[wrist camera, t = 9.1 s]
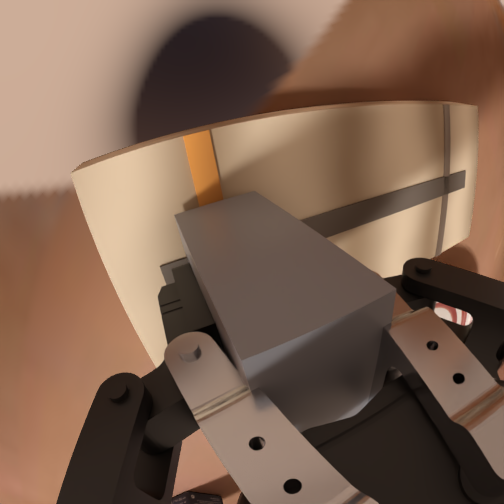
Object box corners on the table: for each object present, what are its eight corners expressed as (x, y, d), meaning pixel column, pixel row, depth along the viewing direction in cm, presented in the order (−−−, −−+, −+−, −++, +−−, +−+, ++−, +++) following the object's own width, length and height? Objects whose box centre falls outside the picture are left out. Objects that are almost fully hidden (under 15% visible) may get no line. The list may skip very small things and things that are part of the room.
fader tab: (254, 190, 11) (396, 288, 5) (272, 299, 13) (368, 420, 7) (173, 214, 10) (241, 360, 4) (208, 323, 13) (275, 467, 7)
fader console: (450, 101, 16) (479, 106, 14) (445, 224, 21) (469, 237, 19) (82, 162, 11) (69, 173, 8) (154, 342, 16) (161, 376, 13)
